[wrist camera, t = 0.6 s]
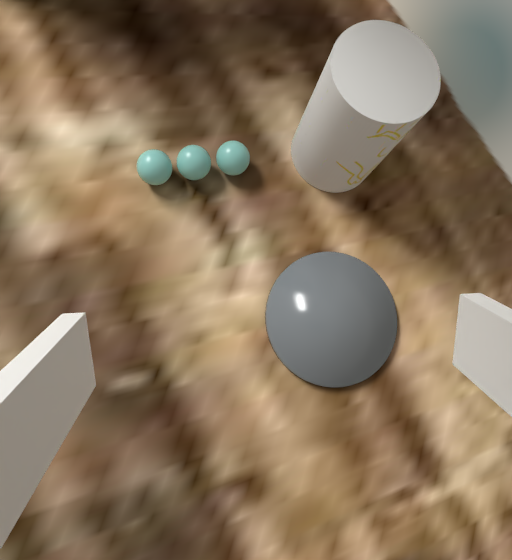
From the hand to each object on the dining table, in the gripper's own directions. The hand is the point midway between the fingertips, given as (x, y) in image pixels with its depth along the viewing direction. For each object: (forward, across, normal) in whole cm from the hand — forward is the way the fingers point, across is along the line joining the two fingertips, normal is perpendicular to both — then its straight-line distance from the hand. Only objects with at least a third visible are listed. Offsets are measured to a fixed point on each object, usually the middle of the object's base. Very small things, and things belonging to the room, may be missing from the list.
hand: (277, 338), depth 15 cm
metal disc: (+22, +7, -8) cm, 24 cm away
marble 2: (+27, -4, +5) cm, 28 cm away
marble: (+27, -1, +6) cm, 28 cm away
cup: (+29, +9, +6) cm, 31 cm away
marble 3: (+26, -8, +5) cm, 28 cm away
